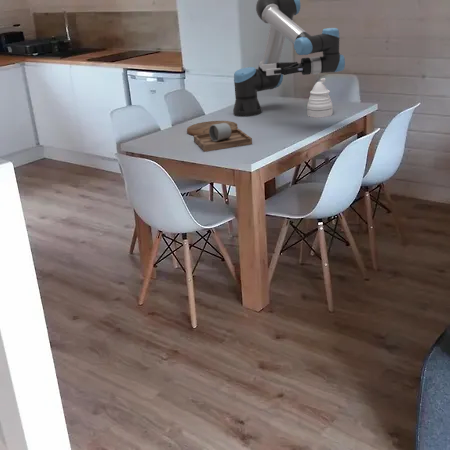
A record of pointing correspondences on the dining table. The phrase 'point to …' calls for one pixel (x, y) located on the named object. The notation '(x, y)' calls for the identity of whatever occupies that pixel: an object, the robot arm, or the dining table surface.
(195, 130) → the trivet
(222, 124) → the ceramic mug
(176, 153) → the dining table surface
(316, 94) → the honey pot
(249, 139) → the walnut tray
